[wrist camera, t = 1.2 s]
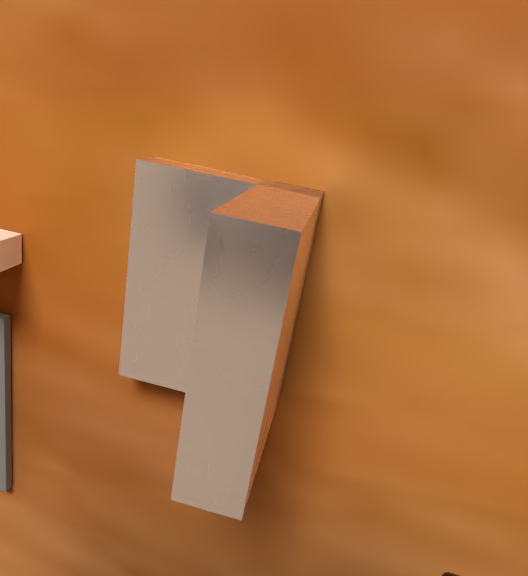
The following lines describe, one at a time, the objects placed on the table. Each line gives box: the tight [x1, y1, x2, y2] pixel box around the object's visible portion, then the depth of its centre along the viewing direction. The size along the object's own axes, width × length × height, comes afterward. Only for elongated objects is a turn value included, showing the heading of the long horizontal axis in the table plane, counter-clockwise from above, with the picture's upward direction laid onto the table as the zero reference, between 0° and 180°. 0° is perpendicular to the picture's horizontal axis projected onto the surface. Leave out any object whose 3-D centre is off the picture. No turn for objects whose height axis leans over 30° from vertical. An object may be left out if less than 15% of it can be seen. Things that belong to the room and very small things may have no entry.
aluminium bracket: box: [119, 156, 324, 521], centre depth 15 cm, size 8×6×6 cm
